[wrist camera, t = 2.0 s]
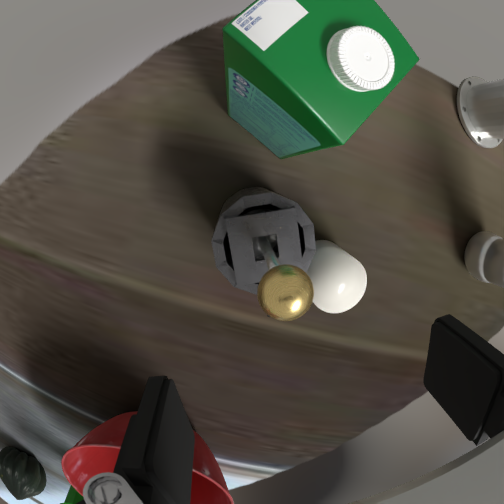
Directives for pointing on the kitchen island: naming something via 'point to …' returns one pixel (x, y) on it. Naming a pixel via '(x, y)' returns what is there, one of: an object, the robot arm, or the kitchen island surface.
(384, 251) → the kitchen island surface
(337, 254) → the white egg shape
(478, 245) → the plastic bottle
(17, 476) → the squash
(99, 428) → the mixing bowl
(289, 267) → the plunger
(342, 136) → the milk carton
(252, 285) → the carafe
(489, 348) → the robot arm
